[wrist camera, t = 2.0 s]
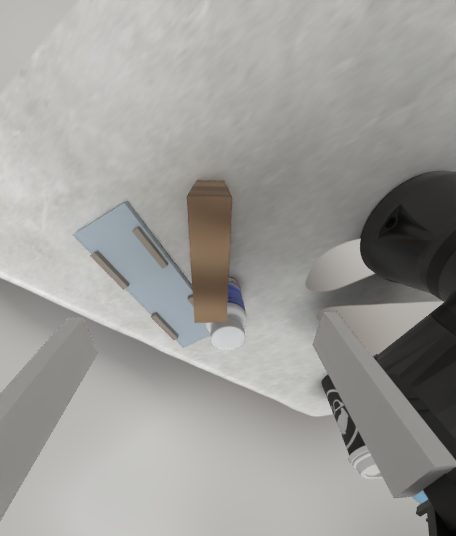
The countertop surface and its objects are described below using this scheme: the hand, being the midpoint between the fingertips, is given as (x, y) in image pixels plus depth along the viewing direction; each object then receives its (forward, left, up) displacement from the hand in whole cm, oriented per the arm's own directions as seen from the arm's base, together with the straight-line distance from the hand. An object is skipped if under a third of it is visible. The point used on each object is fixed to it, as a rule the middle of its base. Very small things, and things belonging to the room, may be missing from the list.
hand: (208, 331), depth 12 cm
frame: (0, 0, -18) cm, 18 cm away
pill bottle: (+3, +9, -18) cm, 20 cm away
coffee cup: (-7, +44, -18) cm, 48 cm away
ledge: (+11, +4, -18) cm, 21 cm away
